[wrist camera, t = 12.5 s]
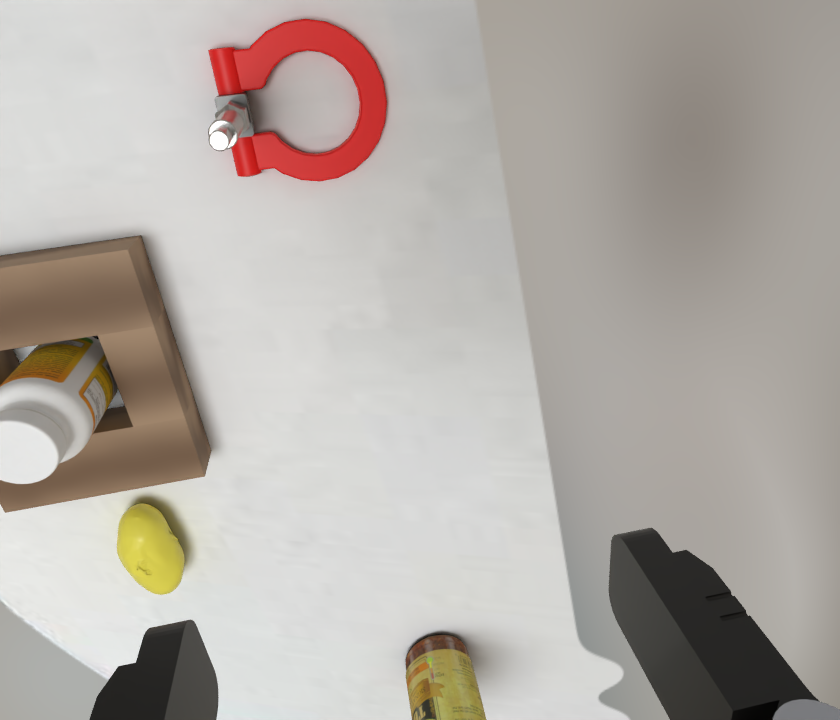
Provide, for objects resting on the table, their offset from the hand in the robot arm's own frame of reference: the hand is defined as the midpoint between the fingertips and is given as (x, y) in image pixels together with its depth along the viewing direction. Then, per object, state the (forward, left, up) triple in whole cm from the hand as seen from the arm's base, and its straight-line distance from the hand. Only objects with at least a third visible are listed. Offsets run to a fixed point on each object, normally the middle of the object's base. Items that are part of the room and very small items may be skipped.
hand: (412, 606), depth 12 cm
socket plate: (+7, -18, -30) cm, 36 cm away
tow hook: (-7, -1, -30) cm, 31 cm away
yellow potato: (+22, -18, -30) cm, 41 cm away
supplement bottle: (+7, -18, -30) cm, 36 cm away
